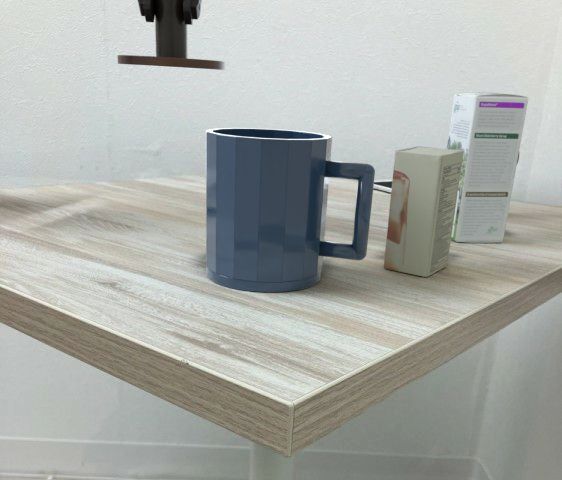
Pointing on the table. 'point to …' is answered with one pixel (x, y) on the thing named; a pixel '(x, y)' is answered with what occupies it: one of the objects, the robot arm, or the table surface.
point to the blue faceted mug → (276, 208)
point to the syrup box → (485, 161)
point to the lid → (170, 41)
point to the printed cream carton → (422, 209)
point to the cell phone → (383, 185)
